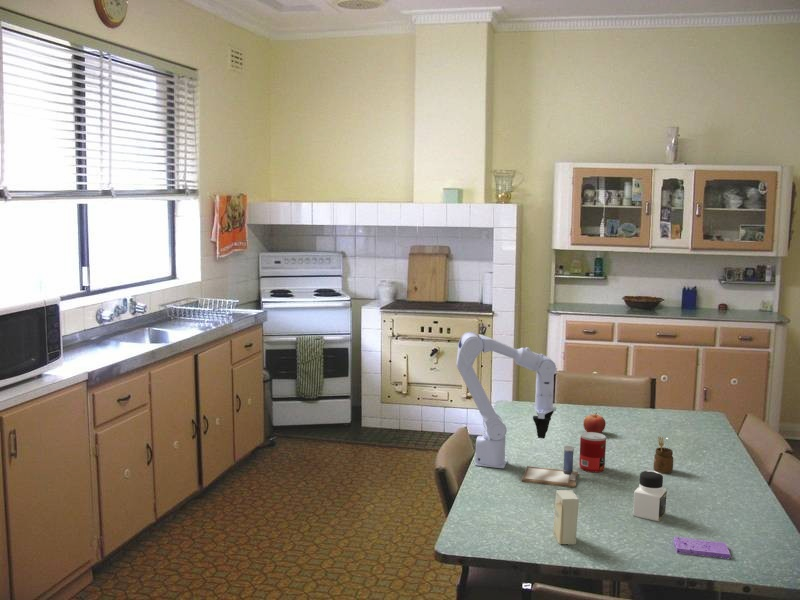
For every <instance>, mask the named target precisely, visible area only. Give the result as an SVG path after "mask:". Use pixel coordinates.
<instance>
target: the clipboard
mask: <svg viewBox="0 0 800 600" xmlns="http://www.w3.org/2000/svg"><path fill="white" fill-rule="evenodd" d="M563 470H564V469H555V468H547V467H546V468H545V467H536V466H528V465H527V466H526V468H525V471H524V473H523V476H522V478H521V482H523V483H529V482H530V483H529V484H531V483H532V484H540V485H546V486H547V485H549V486H556V485H558V486H557V487H564V486H567V487H566V488H573V487H574V488H576V485H577V478H578V475H579V472H578V471H575V470H573V473H571V474H570V475H568V474H564V473H563Z"/></svg>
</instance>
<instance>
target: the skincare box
mask: <svg viewBox="0 0 800 600" xmlns="http://www.w3.org/2000/svg"><path fill="white" fill-rule="evenodd" d="M579 500H580V499H579V497H578V496H577V495H576V494H575V492H574V491H573V490H572V489H556V490H555V502H554V503H555V504H554V515H553V516H554V517H553V519H554V521H553V531H552V535H553V536H554V539H555V540H556V541H557V543H558V545H561V544H568V545H576V544H577V543H576V541H577V529H578V528H577V527H578V518H579V517H578V516H579V515H578V514H579V502H580V501H579ZM561 546H562V545H561Z"/></svg>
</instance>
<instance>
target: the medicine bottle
mask: <svg viewBox="0 0 800 600" xmlns="http://www.w3.org/2000/svg"><path fill="white" fill-rule="evenodd" d="M663 481H664V475H663V474H662V473H659V472H656V471H655V470H643V471H641V472H640V473H639V484H638V485H639V486H638V487H637V488H636V489H635V490H634V492H633V509H632V515H633V517H637V518H641V519H645V520H650V521H654V522H659V521H661V520H662V518H663V516H665V514H666V510H667V509H666V505H667V489H666V488H663V484H664V483H663Z"/></svg>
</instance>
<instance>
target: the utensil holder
mask: <svg viewBox="0 0 800 600" xmlns="http://www.w3.org/2000/svg"><path fill="white" fill-rule="evenodd" d="M668 438H669V436H668V435H667V436H665V437H662V436H658V439H657V440H658V445H659V446H660V447H657V448H656V449H655V454H654V455H653V471H655V472H658V473H660V474H664V475H665V474H671V473H672V472H673V469H674V456H673V449H671V448H670V447H671V446H672V445H671V444H670V446H669V444H668V446H667V447H665V442H664V441H667V440H668ZM665 439H666V440H665Z"/></svg>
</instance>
